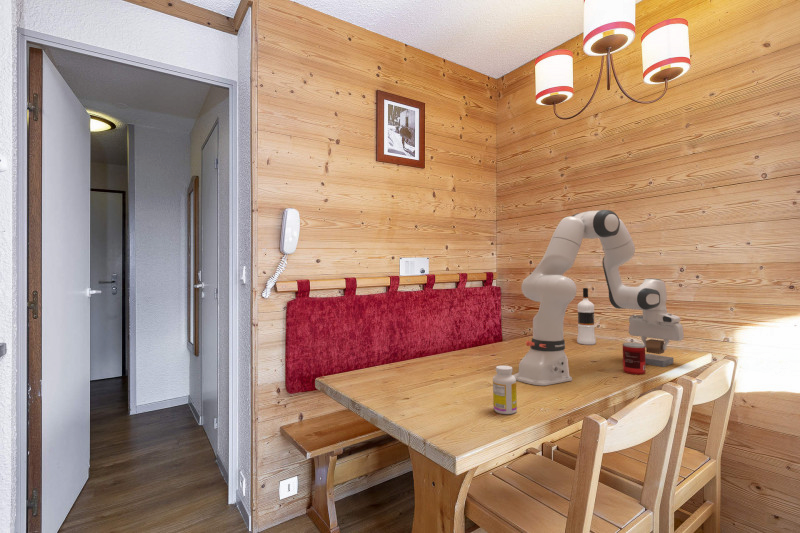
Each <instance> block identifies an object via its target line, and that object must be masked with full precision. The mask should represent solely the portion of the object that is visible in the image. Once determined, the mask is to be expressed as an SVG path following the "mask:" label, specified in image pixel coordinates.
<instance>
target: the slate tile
mask: <svg viewBox="0 0 800 533" xmlns="http://www.w3.org/2000/svg"><path fill="white" fill-rule="evenodd" d="M673 364H674V357H673V356H666V355H661V354H655V353H645V365H647V366H648V365H650V366H656V367H662V368H666V367H667V366H670V365H673Z"/></svg>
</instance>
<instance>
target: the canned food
mask: <svg viewBox="0 0 800 533" xmlns="http://www.w3.org/2000/svg"><path fill="white" fill-rule="evenodd" d="M645 354H646V347H645V345H644V343H639V342H623V343H622V369H623V372H624V373H626V374H630V375H635V374H636V375H639V376H640V374H642V375H645V373H646V364H645Z"/></svg>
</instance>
